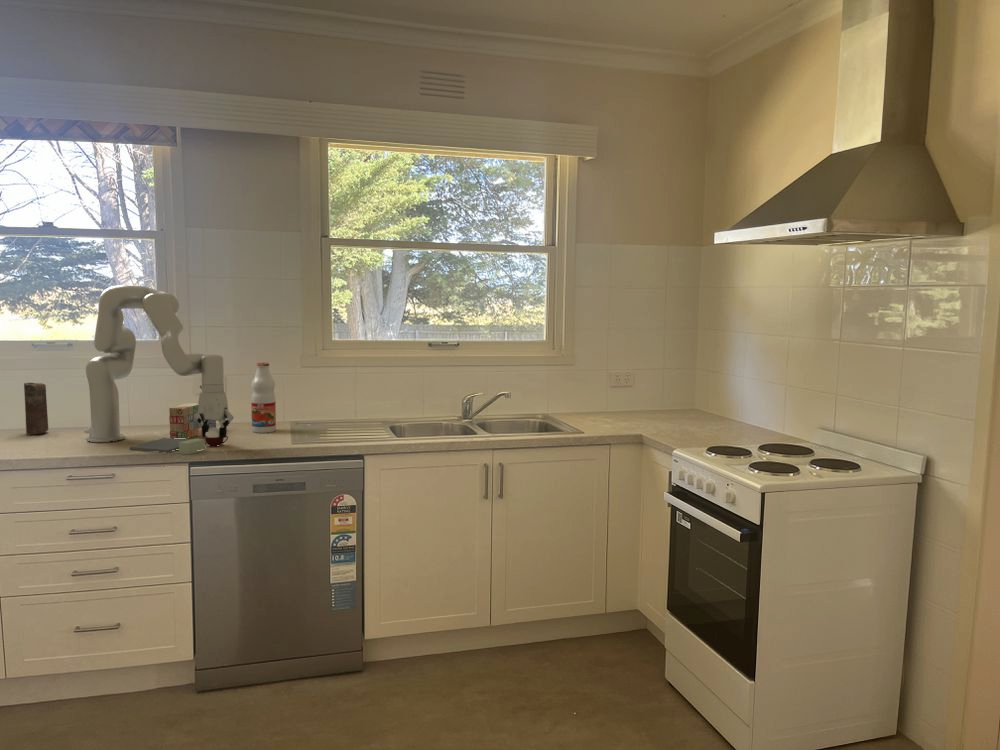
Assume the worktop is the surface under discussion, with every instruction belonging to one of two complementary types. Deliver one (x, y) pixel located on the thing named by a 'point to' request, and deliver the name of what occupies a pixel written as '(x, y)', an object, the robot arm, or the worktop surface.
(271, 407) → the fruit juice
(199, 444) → the green brick
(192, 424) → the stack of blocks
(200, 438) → the terracotta cylinder
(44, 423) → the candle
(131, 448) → the mat
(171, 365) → the robot arm
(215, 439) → the cocoa
